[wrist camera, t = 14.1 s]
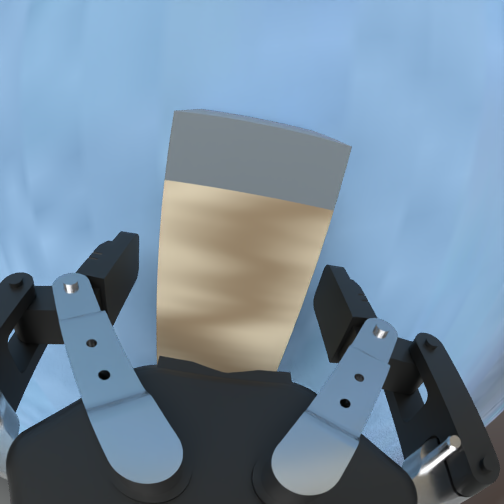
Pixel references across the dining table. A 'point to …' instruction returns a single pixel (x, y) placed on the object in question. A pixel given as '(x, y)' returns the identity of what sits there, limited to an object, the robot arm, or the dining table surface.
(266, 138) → the maple block
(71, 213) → the dining table surface
